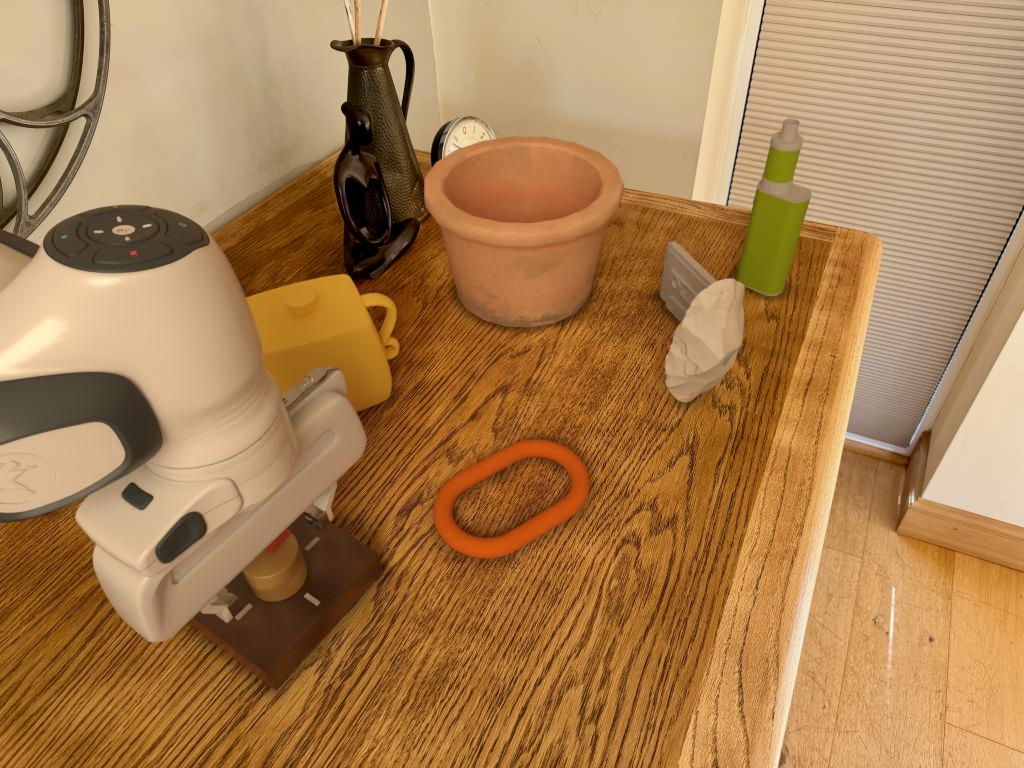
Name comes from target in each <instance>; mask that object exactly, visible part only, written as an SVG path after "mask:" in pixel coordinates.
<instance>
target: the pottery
mask: <svg viewBox="0 0 1024 768" xmlns="http://www.w3.org/2000/svg"><path fill="white" fill-rule="evenodd" d="M423 185H424V186H423V193H424V194H423V199H424V207H425V208H426V210H427V211H428V212H429V214H430V215H431V216H432V218H433V219H434V220H435V222H436V223H437V225H438V226H439V228H440V232H441V236H442V239H443V242H444V243H443V244H444V247H445V252H446V255H447V259H448V263H449V267H450V270H451V275H452V277H453V282H454V285H455V289H456V294H457V298H458V299H459V300H460V302H461V304H462V305H463V307H464V308H465V309H466V310H467V311H469V312H470V313H471V314H473V315H474V316H477V317H478V318H480V319H481V320H483V321H485V322H488V323H492V324H495V325H499V326H503V327H507V328H527V329H529V328H530V329H532V328H537V327H543V326H547V325H552V324H556V323H558V322H560V321H562V320H565V319H567V318H569V317H572V316H573V315H575V314H577V313H578V311H580V310H581V309H582V307H584V306H585V305H586V304H587V303H588V302H589V299H590V296H591V293H592V290H593V285H594V279H595V275H596V271H597V266H598V263H599V258H600V255H601V249H602V246H603V242H604V237H605V233H606V228H607V224H608V222H609V221H610V220H611V219H612V218H613V217H614V216H616V215H617V214H618V211H619V209H620V205H621V203H622V198H623V195H624V187H625V184H624V181H623V179H622V177H621V174H620V172H619V169H618V167H617V165H616V164H614V163H613V162H612V161H611V160H610V159H608V158H607V157H606V156H605V155H604V154H602V153H601V152H600V151H597V150H594V149H592V148H590V147H587V146H584V145H582V144H580V143H577V142H574V141H570V140H569V141H568V140H564V139H559V138H553V137H548V136H508V137H501V138H494V139H493V138H492V139H486V140H482V141H478V142H475V143H472V144H470V145H466V146H464V147H460V148H457V149H455V150H453V151H452V152H450V153H448V154H447V155H446V156H444V157H442V158H441V159H439V160H437V161H436V162H435V163H434V165H433V166H432V167H431V169H430V170H429V171H428V173H427V174H426V175H425V177H424V181H423Z"/></svg>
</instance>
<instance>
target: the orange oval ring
mask: <svg viewBox="0 0 1024 768" xmlns="http://www.w3.org/2000/svg"><path fill="white" fill-rule="evenodd" d="M531 458H543V459H548V460H551V461H553V462H555V463H557V464H559V465H560V466H562V467H563V468H564V469H565V471H566V472H567V474H568V475H569V479H570V488H569V490H568V493H567V494H566V495H565V496H564V497H563V498H562V499H561V500H559V501H557V502H556V503H554V504H553V505H552V506H550V507H548V508H546V509H544V510H543V511H541V512H540V513H537V514H535V516H533V517H531V518H529V519H528V520H527V521H525V522H523V523H522V524H520V525H517V526H516V527H514V528H513V529H511V530H509V531H508V532H505V533H504V534H501V535H498V536H494V537H479V536H476V535H472V534H470V533H468V532H466V531H465V530H464V529H462V528H461V527H460V526H459V525H458V523H456V521H455V519H454V515H453V514H454V513H453V509H454V505H455V502H456V501H457V499H458V498H459V496H460V495H461V494H463V493H464V492H465V491H467V490H469V489H470V488H472V487H474V486H475V485H477V484H479V483H480V482H482V481H484V480H486V479H488V478H490V477H491V476H493V475H495V474H497V473H500V471H502V470H504V469H506V468H508V467H510V466H511V465H513V464H515V463H517V462H519V461H522V460H524V459H531ZM589 475H590V474H589V471H588V468H587V467H586V465H585V463H584V462H583V460H582V458H581V457H580V456H579V455H578V454H576V453H575V452H574V451H573V450H571V449H570V448H568V447H567V446H565V445H563V444H561V443H559V442H556V441H554V440H553V441H552V440H547V439H541V438H540V439H539V438H537V439H536V438H532V439H531V438H530V439H525V440H520V441H517V442H514V443H511V444H509V445H508V446H506V447H503V448H502V449H500V450H498V451H496V452H494V453H492V454H491V455H489V456H486V457H484V458H483V459H481V460H479V461H478V462H476V463H473V464H472V465H470V466H468V467H467V468H465V469H463V470H461V471H460V472H458V473H456V474H454V475H453V476H451V477H450V478H449V479H448V480H447V481H446V482H445V483H443V485H442V486H441V488H440V489H439V491H438V493H437V494H436V496H435V499H434V503H433V508H432V509H433V510H432V518H433V523H434V527H435V529H436V531H437V534H439V536H440V538H441V539H442V541H444V543H445V544H447V545H448V546H449V548H452V550H454V551H456V552H458V553H460V554H462V555H465V556H469V557H471V558H477V559H497V558H501V557H505V556H508V555H510V554H513V553H515V552H517V551H519V550H520V549H522V548H524V547H526V546H527V545H529V544H531V543H533V541H535V540H537V539H539V538H540V537H542V536H543V535H545V534H547V533H548V532H550V531H552V530H553V529H555V528H557V527H559V526H560V525H561V524H563V523H565V522H566V521H567V520H569V519H570V518H572V517H573V516H575V515H576V514H577V513H578V512H579V511H580V510H581V509H582V508H583V506H584V505H585V503H586V501H587V499H588V496H589V494H590V489H591V480H590V476H589Z"/></svg>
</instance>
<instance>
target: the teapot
mask: <svg viewBox="0 0 1024 768" xmlns="http://www.w3.org/2000/svg"><path fill="white" fill-rule="evenodd" d="M246 299H247V301H248V304H249V306H250V309H251V311H252V314H253V316H254V319H255V322H256V325H257V327H258V330H259V333H260V336H261V340H262V347H263V355H262V361H263V365H264V367H265V368H266V369H267V370H268V371H269V372H270V374H271V375H272V376H273V378H274V379H275V381H276V383H277V385H278V387H279V390H280V393H281V394H282V393H284V392H285V391H286V390H288V389H289V388H290V387H292V386H294V385H295V384H297V383H298V382H300V381H301V380H302V379H304V377H305V375H306V374H307V373H309V372H310V371H311V370H313V369H315V368H317V367H322V368H325V367H327V366H335V367H337V368H339V369H340V370H341V372H342V373H343V375H344V378H345V382H346V386H347V397H346V398H347V399H348V400H349V401H350V402H351V403H352V405H353V407H354V409H355V410H356V412H357V413H359V412H362V411H365V410H367V409H370V408H372V407H374V406H376V405H379V404H381V403H383V402H385V401H387V400H388V399H389V398H390V397H391V394H392V388H393V377H392V372H391V368H390V364H389V360H392V359H394V358H396V357H397V356H398V355H399V353H400V347H401V346H400V342H399V341H398V339H397V338H395V337H393V336H392V333H393V331H394V328H395V326H396V322H397V319H398V309H397V306H396V304H395V302H394V301H393V300H392V298H390V297H389V296H387V295H385V294H383V293H379V292H369V293H364V294H360V292H359V290H358V288H357V286H356V285H355V282H354V281H353V279H352V278H351V276H350V275H348V274H346V273H342V274H341V273H340V274H333V275H332V274H331V275H328V276H327V275H326V276H321V277H317V278H312V279H307V280H303V281H299V282H295V283H290V284H287V285H286V284H285V285H283V286H282V285H281V286H279V287H276V288H273V289H269V290H265V291H262V292H257V293H256V294H253V295H250V296H247V297H246ZM370 307H383V308H386V313H385V317H384V320H383V323H382V325H381V327H380V329H379V332H378V330H377V328H376V325H375V323H374V321H373V318H372V317H371V314H370V312H369V311H368V308H370Z"/></svg>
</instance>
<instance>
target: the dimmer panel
mask: <svg viewBox="0 0 1024 768" xmlns="http://www.w3.org/2000/svg"><path fill="white" fill-rule="evenodd" d="M287 529H288V530H290V531H291V533H292V534H293V535H294V536H295V538H296V540H297V542H298V545H299V547H300V550H301V552H302V555H303V557H304V560H305V562H306V565H307V570H308V572H307V578H306V580H305V582H304V584H303V586H302V587H301V588H300V590H299V591H298V592H296V593H295V594H294V595H292V596H291V597H289V598H287V599H284V600H281V601H276V602H268V601H264V600H261V599H259V598H258V597H257V596H255V594H254V593H253V592H252V590H251V588H250V586H249V584H248V582H247V580H246V578H245V576H244V574H243V572H242V571H241V572H240V573H239V574H238V575H237V576H236V577H235V578H234V579H233V580H232V581H231V582H230V583H229V584H228V585H227V586H225V587H224V588H226V589H227V590H228V591H229V593H233V594H234V595H235V596H237V597H238V599H239V600H240V604H241V605H242V606H243V608H242V609H241V610H240V611H239V612H238V613H237V614H236V615H235V616H234V617H233V618H232V619H231V620H230V621H229V622H228V623H226V622H225V621H224V620H222V619H221V618H220V617H218V616H217V615H216V614H203V613H201V612H200V611H199V612H198V613H197V614H196V615H195V616H194V617H193V618H192V619H191V620H190V621H189V622H188V623H187V624H189V625H190V626H192V628H194V629H196V630H197V631H198V632H199V633H201V634H202V635H203V636H204V637H205V638H207V639H208V640H209V641H210V642H212V643H213V644H215V646H217V647H218V648H220V649H221V650H222V651H223V652H224V653H226V654H227V655H228V656H230V657H231V658H232V659H234V661H236V662H237V663H239V664H240V665H241V666H243V668H244V669H246V670H247V671H249V672H250V673H251V674H253V675H254V676H255V677H257V678H258V680H260V681H261V682H263V683H264V684H265V685H267V686H268V687H269V688H270V689H271V690H273V692H278V691H279V689H280V688H281V687H282V686H283V684H285V682H286V681H287V680H288V679H289V678H290V677H291V676H292V675H293V673H294V672H295V671H296V670H297V668H299V667H300V666H301V665H302V663H304V661H305V660H306V659H307V658H308V657H309V656H310V655H311V653H312V652H313V651H314V650H315V649H316V648H317V647H318V645H319V644H320V643H322V641H323V640H324V639H325V638H326V637H327V635H328V634H330V632H331V631H332V630H333V629H334V628H335V627H336V625H338V623H339V622H340V621H341V620H342V618H343V617H344V616H345V615H346V614H347V613H348V612H349V611H350V610H351V608H353V607H354V606H355V604H356V603H357V602H358V601H359V600H360V599H361V598H362V596H363V595H365V593H366V592H367V591H369V589H370V588H371V586H372V585H373V584H374V583H375V582H376V581H377V580H378V579H379V577H380V576H381V575H382V574H383V573H384V570H383V565H382V562H381V558H380V554H379V552H378V551H377V550H375V549H373V548H372V547H371V546H369V545H367V544H366V543H364V542H362V541H361V540H360V539H358V538H356V537H354V536H353V535H351V534H349V533H348V532H346V531H344V530H343V529H341V528H340V527H338V526H336V525H335V524H334V523H332V522H331V521H330V522H329V523H328V524H327V525H326V526H325V527H324V528H323V529H322V530H318V529H316V526H312V525H310V524H309V523H308V522H307V521H306V519H305V515H304V514H303V513H302V514H301V515H300V516H299V517H298V518H297V519H296V520H295V521H294V522H293V523H292V524H291V525H289V526H288V527H287Z"/></svg>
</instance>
